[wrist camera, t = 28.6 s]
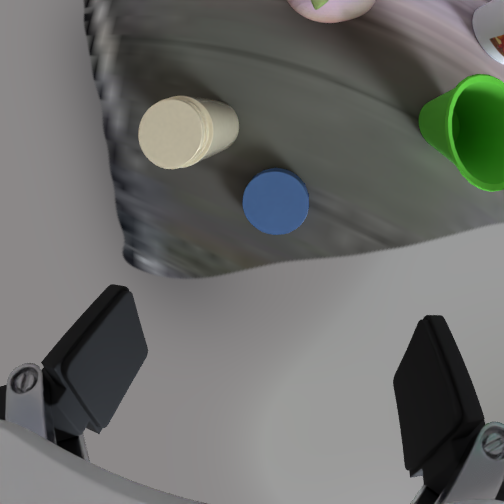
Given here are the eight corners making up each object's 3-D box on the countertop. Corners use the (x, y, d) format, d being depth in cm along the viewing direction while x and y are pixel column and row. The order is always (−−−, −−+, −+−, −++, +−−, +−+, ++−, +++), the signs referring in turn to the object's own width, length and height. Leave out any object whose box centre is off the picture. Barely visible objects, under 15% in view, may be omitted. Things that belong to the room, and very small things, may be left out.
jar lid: (238, 217, 33) (234, 223, 31) (255, 158, 30) (252, 161, 28) (296, 237, 33) (295, 244, 31) (317, 179, 30) (318, 183, 28)
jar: (176, 133, 30) (123, 146, 21) (205, 89, 27) (159, 81, 18) (218, 163, 31) (179, 187, 21) (250, 119, 28) (222, 122, 19)
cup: (475, 162, 25) (533, 187, 15) (407, 168, 27) (452, 197, 17) (464, 83, 21) (523, 78, 12) (392, 84, 24) (435, 71, 14)
